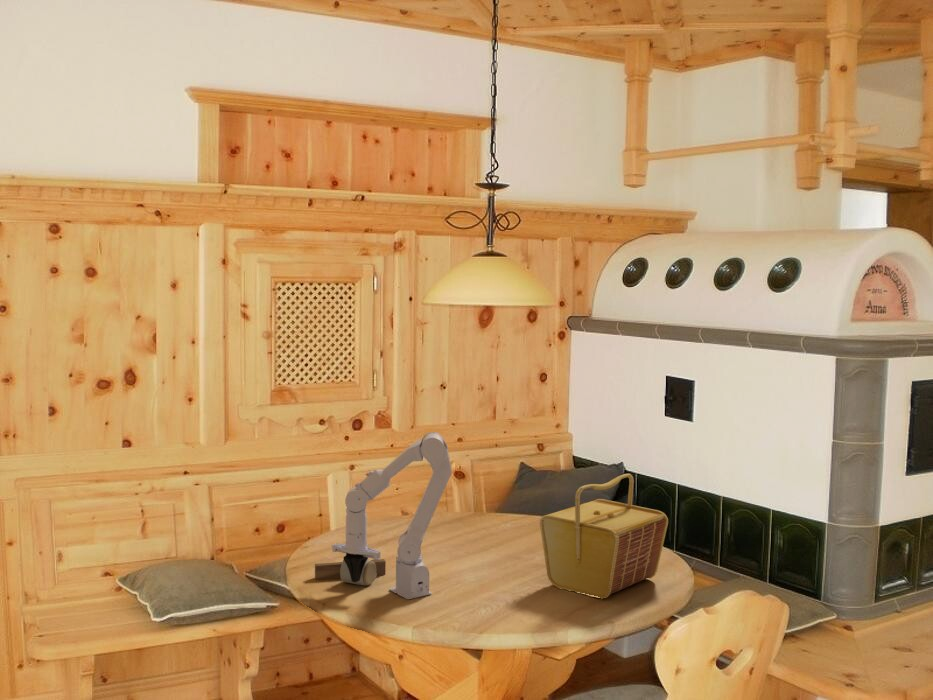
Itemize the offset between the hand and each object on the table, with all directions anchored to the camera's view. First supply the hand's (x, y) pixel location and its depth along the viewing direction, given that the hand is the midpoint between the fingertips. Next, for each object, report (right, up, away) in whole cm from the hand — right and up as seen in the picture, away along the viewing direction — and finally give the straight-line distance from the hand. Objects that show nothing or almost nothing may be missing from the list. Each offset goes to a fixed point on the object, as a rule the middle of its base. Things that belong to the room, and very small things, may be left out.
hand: (355, 580), depth 273 cm
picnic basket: (+69, -4, +12) cm, 70 cm away
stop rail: (-3, -2, +13) cm, 14 cm away
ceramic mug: (0, -3, +8) cm, 9 cm away
